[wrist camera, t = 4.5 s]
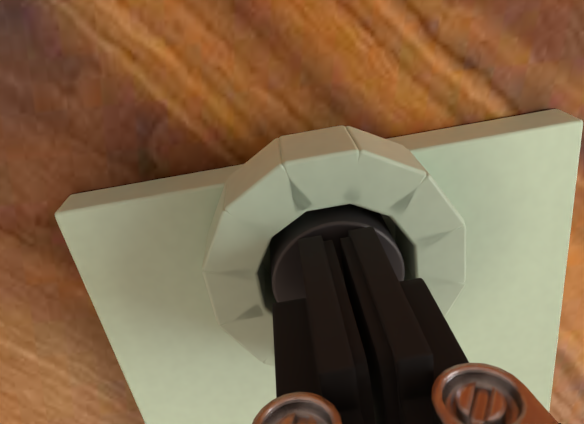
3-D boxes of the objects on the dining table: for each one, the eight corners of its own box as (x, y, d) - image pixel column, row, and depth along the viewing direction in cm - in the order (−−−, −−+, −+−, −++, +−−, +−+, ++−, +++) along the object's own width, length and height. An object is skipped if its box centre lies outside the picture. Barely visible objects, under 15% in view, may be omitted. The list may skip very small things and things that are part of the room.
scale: (55, 160, 12) (-1, 213, 10) (560, 70, 12) (647, 98, 9) (211, 540, 20) (204, 628, 17) (522, 487, 20) (564, 568, 17)
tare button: (259, 200, 12) (259, 235, 10) (381, 178, 12) (402, 211, 10) (280, 299, 13) (283, 344, 11) (390, 280, 13) (409, 322, 11)
